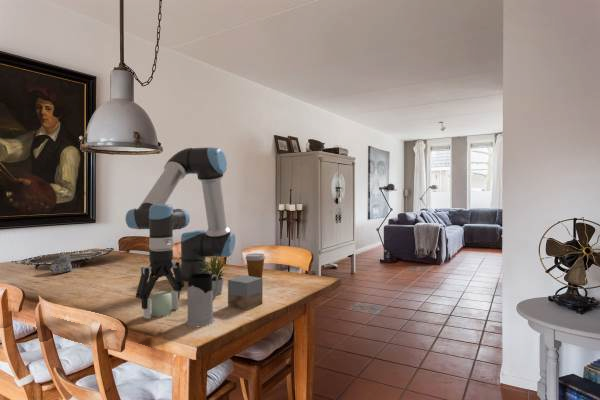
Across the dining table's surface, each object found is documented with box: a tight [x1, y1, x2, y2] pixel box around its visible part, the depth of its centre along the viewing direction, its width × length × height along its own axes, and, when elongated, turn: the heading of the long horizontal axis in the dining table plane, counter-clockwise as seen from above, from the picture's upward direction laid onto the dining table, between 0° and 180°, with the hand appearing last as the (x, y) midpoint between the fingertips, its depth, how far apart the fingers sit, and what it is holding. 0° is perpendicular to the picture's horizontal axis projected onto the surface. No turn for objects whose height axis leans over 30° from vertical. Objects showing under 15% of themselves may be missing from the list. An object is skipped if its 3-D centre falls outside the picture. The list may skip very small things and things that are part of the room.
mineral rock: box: [49, 253, 73, 274], centre depth 190 cm, size 13×11×10 cm
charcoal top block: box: [227, 275, 264, 297], centre depth 133 cm, size 9×9×5 cm
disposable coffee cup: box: [245, 252, 266, 279], centre depth 174 cm, size 10×10×12 cm
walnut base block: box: [227, 291, 263, 311], centre depth 134 cm, size 9×9×5 cm
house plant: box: [199, 256, 229, 296], centre depth 149 cm, size 14×14×16 cm
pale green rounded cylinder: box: [150, 290, 172, 318], centre depth 124 cm, size 6×6×7 cm
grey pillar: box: [186, 273, 218, 328], centre depth 118 cm, size 9×14×15 cm, turn 159°
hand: (161, 313), depth 124 cm, fingers open, 10 cm apart
